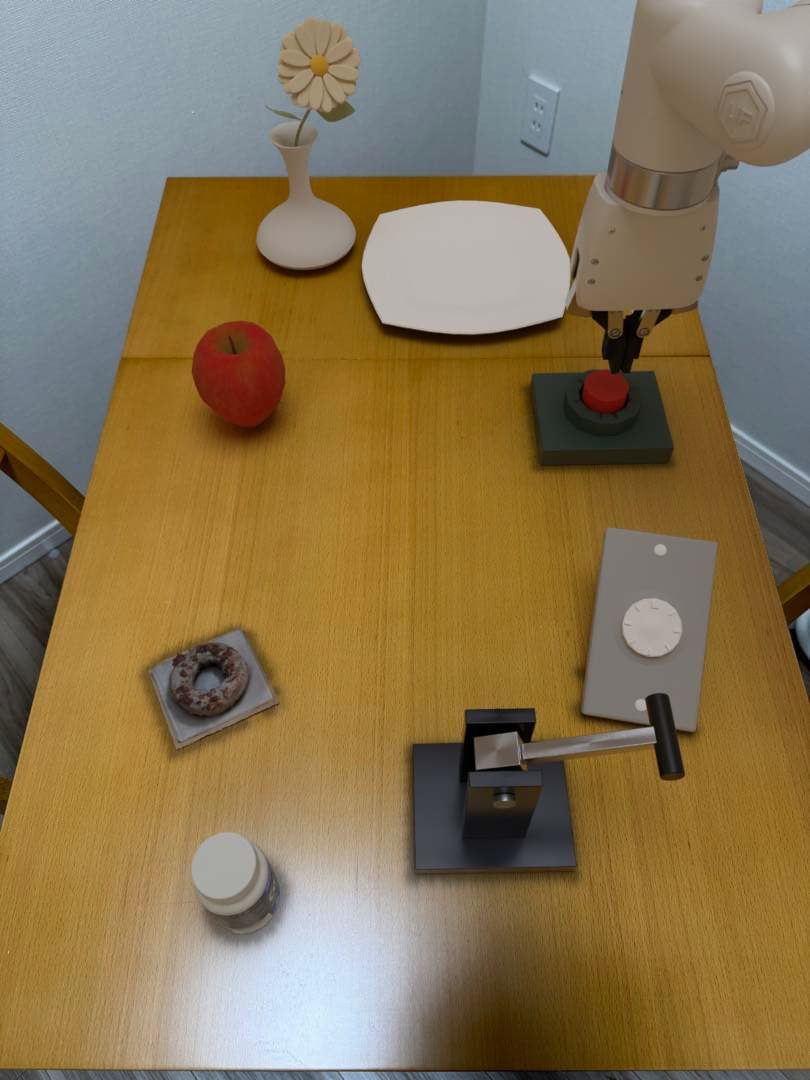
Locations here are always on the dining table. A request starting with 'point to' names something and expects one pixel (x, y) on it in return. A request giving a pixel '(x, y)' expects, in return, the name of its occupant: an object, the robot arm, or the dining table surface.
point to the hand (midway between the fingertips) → (617, 362)
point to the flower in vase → (323, 85)
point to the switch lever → (589, 745)
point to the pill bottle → (235, 882)
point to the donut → (211, 687)
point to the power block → (599, 422)
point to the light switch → (649, 626)
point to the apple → (239, 372)
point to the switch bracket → (489, 805)
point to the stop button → (605, 391)
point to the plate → (466, 268)
